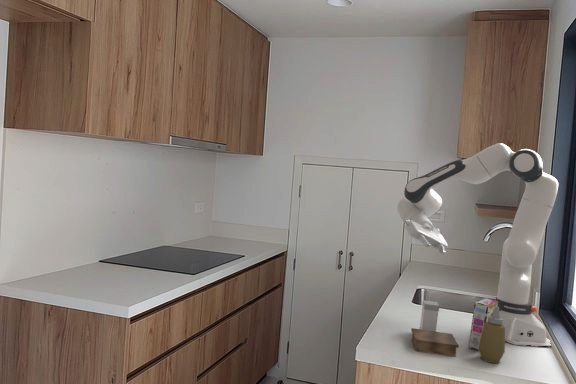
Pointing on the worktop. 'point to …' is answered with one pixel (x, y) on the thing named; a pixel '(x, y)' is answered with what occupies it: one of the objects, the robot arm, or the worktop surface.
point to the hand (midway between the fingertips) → (435, 249)
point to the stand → (434, 342)
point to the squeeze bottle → (493, 338)
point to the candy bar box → (480, 320)
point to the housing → (429, 315)
